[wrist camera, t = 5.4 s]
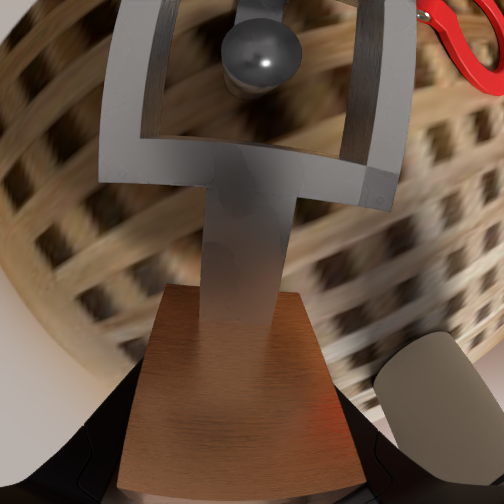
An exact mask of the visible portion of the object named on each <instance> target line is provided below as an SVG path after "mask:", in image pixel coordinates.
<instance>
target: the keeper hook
mask: <svg viewBox="0 0 504 504" xmlns="http://www.w3.org/2000/svg"><path fill="white" fill-rule="evenodd" d="M289 2H290V0H239V2H238V7H237V12H236V18H235V24H234V27H233V28H232V29H231V30H230V31H229V32H228V33H227V34H226V36H225V38H224V40H223V43H222V47H221V55H222V64H223V73H224V81H225V84H226V87H227V88H228V90H229V91H230V92H231V93H232V94H233V95H235V96H237V97H239V98H242V99H249V100H250V99H257V98H260V97H262V96H264V95H265V94H267V93H268V92H270V91H271V90H273V89H274V88H276V87H277V86H279V85H280V84H282V83H283V82H285V81H286V80H288V79H289V78H291V77H292V76H293V75H294V74H295V72H296V71H297V69H298V68H299V66H300V63H301V59H302V49H301V45H300V42H299V40H298V38H297V37H296V35H295V34H294V33H293V32H292V31H291V30H290V29H289V28H288V27H287V26H285V25H284V24H282V16H283V9H284V5H288V3H289Z"/></svg>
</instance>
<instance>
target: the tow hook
mask: <svg viewBox="0 0 504 504" xmlns="http://www.w3.org/2000/svg"><path fill="white" fill-rule="evenodd" d="M474 1H475V2H477V4H478V5H479V6H480V7H481V8H482V9H483V10H484V12H485V13H486V15H487V16H488V18H489V19H490V21H491V23H492V25H493V27H494V30H495V32H496V35H497V38H498V42H499V47H500V61H499V64H498V67H497V68H496V69H495V70H494V71H493V72H491V71H489V70H487V69H486V68H485V67H484V66H482V64H481V63H480V62H479V61H478V60H477V59H476V57H475V56H474V54H473V53H472V51H471V50H470V48H469V46H468V44H467V42H466V40H465V38H464V36H463V34H462V31H461V29H460V26H459V24H458V20H457V16H456V15H455V13H454V12H453V11H452V10H451V9H450V8H449V7H448V6H447V5H446V4H445V3H444V2H443V1H442V0H416V20H418V21H420V22H422V23H425V24H430V25H431V26H432V27H433V28H435V29H436V30H437V31H438V32H439V35H440V37H441V40H442V42H443V44H444V45H445V47H446V49H447V51H448V53H449V55H450V57H451V59H452V60H453V62H454V63H455V64H456V66H457V67H458V69H459V70H460V72H461V73H462V75H463V76H464V77H465V78H466V79H467V80H468V81H469V82H470V83H471V84H472V85H473V86H474V87H475V88H477V89H478V90H480V91H481V92H483V93H486V94H489V95H494V96H502V95H504V17H503V15H502V13H501V12H500V10H499V8H498V7H497V5H496V4H495V3H494V1H493V0H474Z"/></svg>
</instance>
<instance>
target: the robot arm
mask: <svg viewBox="0 0 504 504" xmlns="http://www.w3.org/2000/svg"><path fill="white" fill-rule="evenodd" d="M144 357H145V355H144ZM144 357H143V358H142V359H141V360H140V361H139V362H138V363H137V364H136V365H135V367H134V368H133V369H132V370H131V371H130V372H129V373H128V374H127V376H126V377H125V378H124V379H123V380H122V381H121V382H120V383H119V385H118V386H117V387H116V388H115V389H114V390H113V391H112V393H111V394H110V395H109V396H108V397H107V398H106V399H105V400H104V402H103V403H102V404H101V405H100V406H99V407H98V408H97V410H96V411H95V412H94V413H93V414H92V415H91V417H90V418H89V419H88V420H87V421H86V422H85V423H84V426H82V427H81V428H80V429H79V430H78V431H77V432H76V433H75V435H74V436H73V437H72V438H71V439H70V440H69V441H68V442H67V443H66V444H65V445H64V446H63V447H62V448H61V449H60V450H59V451H58V452H57V453H56V454H54V455H53V456H52V457H51V458H50V459H49V460H47V461H46V462H45V463H44V464H43V465H42V466H41V467H40V468H38V469H37V470H36V471H35V472H33V474H31V475H30V476H29V477H27V478H26V479H24V480H23V481H21V482H19V483H16V484H13V485H9V486H4V487H0V504H136V503H134V502H133V501H132V500H131V499H129V498H128V497H127V496H126V495H125V494H124V493H122V492H121V491H120V490H119V489H118V488H117V482H118V475H119V469H120V463H121V458H122V452H123V447H124V442H125V436H126V432H127V427H128V422H129V417H130V413H131V408H132V404H133V400H134V396H135V391H136V387H137V383H138V379H139V375H140V372H141V368H142V364H143V360H144ZM333 385H334V384H333ZM334 387H335V390H336V393H337V396H338V399H339V401H340V404H341V407H342V410H343V413H344V416H345V418H346V421H347V424H348V427H349V430H350V433H351V436H352V439H353V442H354V445H355V448H356V451H357V454H358V457H359V460H360V463H361V466H362V469H363V472H364V475H365V478H366V483H365V484H363V485H362V486H360V487H359V488H357V489H356V490H354V491H352V492H351V493H349V494H348V495H346V496H345V497H343V498H341V499H340V500H338V501H336V502H334V503H333V504H504V482H503V483H501V484H500V485H498V486H488V485H473V484H462V483H454V482H448V481H444V480H442V479H439V478H437V477H435V476H434V475H432V474H431V473H429V472H428V471H427V470H425V469H424V468H423V467H421V466H420V465H418V464H417V463H416V462H414V461H413V460H412V459H410V458H409V457H408V456H407V455H405V454H404V453H403V452H402V451H400V450H399V449H398V448H397V447H396V446H395V445H394V444H392V443H391V442H390V441H389V440H388V439H387V438H386V437H385V436H384V435H383V434H382V433H381V432H380V431H378V429H377V428H376V427H375V426H374V425H373V424H372V423H371V422H370V421H369V420H368V419H367V418H366V417H365V416H364V415H363V414H362V413H361V412H360V411H359V410H358V409H357V408H356V407H355V406H354V405H353V404H352V403H351V402H350V401H349V400H348V399H347V398H346V396H345V395H344V394H343V393H342V392H341V391H340V390H339V389H338V388H337V387H336V386H335V385H334Z"/></svg>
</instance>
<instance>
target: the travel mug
mask: <svg viewBox="0 0 504 504" xmlns="http://www.w3.org/2000/svg"><path fill="white" fill-rule="evenodd" d="M374 391H375V393H376V396H377V398H378V400H379V402H380V405H381V407H382V409H383V412H384V414H385V416H386V419H387V421H388V423H389V426H390V428H391V431H392V433H393V435H394V438H395V440H396V443H397V445H398V448H399V450H400V451H402V452H403V453H404V454H405V455H407V456H408V457H409V458H410V459H412V460H413V461H414V462H416V463H417V464H418V465H420V466H421V467H423V468H424V469H425V470H427V471H428V472H429V473H431V474H432V475H434V476H435V477H437V478H439V479H442V480H444V481H448V482H454V483H462V484H473V485H488V486H498V485H500V484H501V483H503V482H504V412H503V411H502V409H501V407H500V406H499V404H498V402H497V401H496V399H495V398H494V396H493V394H492V393H491V391H490V390H489V388H488V387H487V385H486V384H485V382H484V381H483V379H482V378H481V376H480V375H479V373H478V372H477V371H476V369H475V368H474V366H473V365H472V363H471V362H470V361H469V359H468V358H467V356H466V355H465V354H464V352H463V351H462V350H461V348H460V347H459V346H458V344H457V343H456V342H455V340H454V339H453V338H452V337H451V335H450V334H449V333H447V332H434V333H431V334H428V335H425V336H423V337H421V338H419V339H417V340H415V341H413V342H411V343H410V344H408V345H407V346H406V347H404V348H403V349H401V350H400V351H399V352H398V353H397V354H396V355H394V356H393V357H392V358H391V359H390V360H389V361H388V362H387V363H386V364H385V365H384V367H383V368H382V369H381V370H380V372H379V373H378V375H377V377H376V379H375V381H374Z"/></svg>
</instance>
